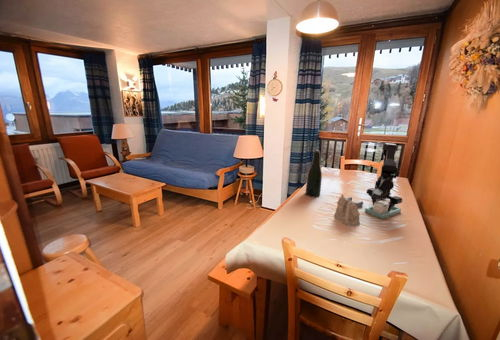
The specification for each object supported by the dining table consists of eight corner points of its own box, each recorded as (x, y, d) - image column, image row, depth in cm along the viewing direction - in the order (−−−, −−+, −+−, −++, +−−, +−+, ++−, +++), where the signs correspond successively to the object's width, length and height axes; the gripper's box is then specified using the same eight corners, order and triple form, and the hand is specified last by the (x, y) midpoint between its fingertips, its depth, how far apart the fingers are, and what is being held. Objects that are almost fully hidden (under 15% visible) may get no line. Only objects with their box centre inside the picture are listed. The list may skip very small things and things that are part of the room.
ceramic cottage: (347, 227, 119) (352, 201, 116) (328, 214, 134) (332, 191, 131) (370, 224, 124) (375, 199, 121) (349, 212, 139) (353, 190, 136)
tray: (382, 205, 147) (383, 202, 146) (400, 212, 137) (401, 208, 137) (364, 211, 138) (365, 207, 137) (382, 219, 128) (382, 215, 128)
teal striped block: (384, 207, 142) (386, 198, 141) (392, 210, 138) (394, 201, 136) (372, 211, 137) (374, 202, 135) (380, 215, 132) (382, 206, 131)
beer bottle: (302, 192, 166) (306, 149, 156) (313, 190, 170) (318, 148, 160) (311, 198, 156) (316, 152, 147) (323, 195, 160) (328, 151, 151)
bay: (350, 200, 153) (351, 196, 152) (362, 205, 146) (362, 201, 145) (343, 202, 150) (344, 198, 149) (355, 208, 142) (356, 203, 141)
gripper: (362, 181, 135) (358, 205, 140) (394, 192, 119) (388, 218, 124) (374, 179, 140) (369, 201, 145) (405, 188, 125) (399, 213, 129)
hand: (381, 208), depth 136 cm, fingers open, 9 cm apart
